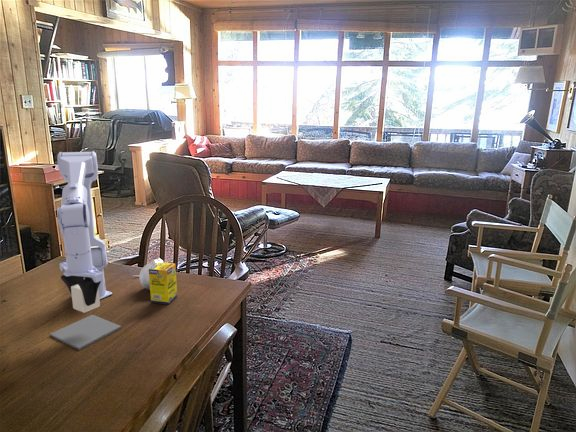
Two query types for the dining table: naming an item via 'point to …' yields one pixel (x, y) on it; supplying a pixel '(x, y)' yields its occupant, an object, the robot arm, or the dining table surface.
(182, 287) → the dining table surface
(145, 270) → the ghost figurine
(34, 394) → the dining table surface
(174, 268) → the supplement box
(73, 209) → the robot arm
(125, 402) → the dining table surface
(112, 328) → the gray mat
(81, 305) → the cream block
